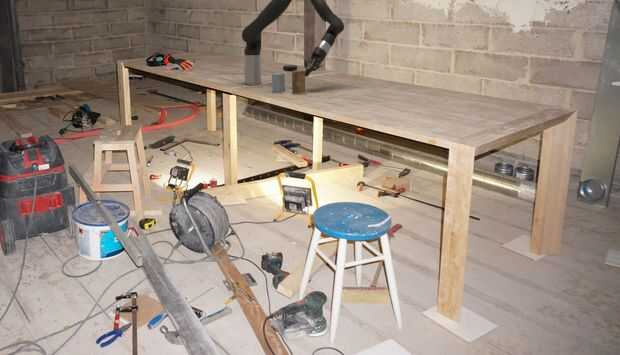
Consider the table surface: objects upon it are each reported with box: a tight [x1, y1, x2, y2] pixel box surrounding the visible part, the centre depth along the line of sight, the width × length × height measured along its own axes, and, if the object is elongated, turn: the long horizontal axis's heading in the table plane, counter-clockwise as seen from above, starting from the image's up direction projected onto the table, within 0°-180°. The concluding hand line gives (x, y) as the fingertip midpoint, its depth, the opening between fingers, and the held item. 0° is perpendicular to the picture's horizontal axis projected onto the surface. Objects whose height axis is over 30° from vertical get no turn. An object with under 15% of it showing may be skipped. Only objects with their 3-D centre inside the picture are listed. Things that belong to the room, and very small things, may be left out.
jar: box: [282, 64, 298, 89], centre depth 319 cm, size 9×8×12 cm
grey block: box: [271, 72, 286, 94], centre depth 305 cm, size 5×5×10 cm
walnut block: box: [291, 69, 306, 95], centre depth 300 cm, size 5×5×12 cm
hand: (305, 75), depth 303 cm, fingers closed
